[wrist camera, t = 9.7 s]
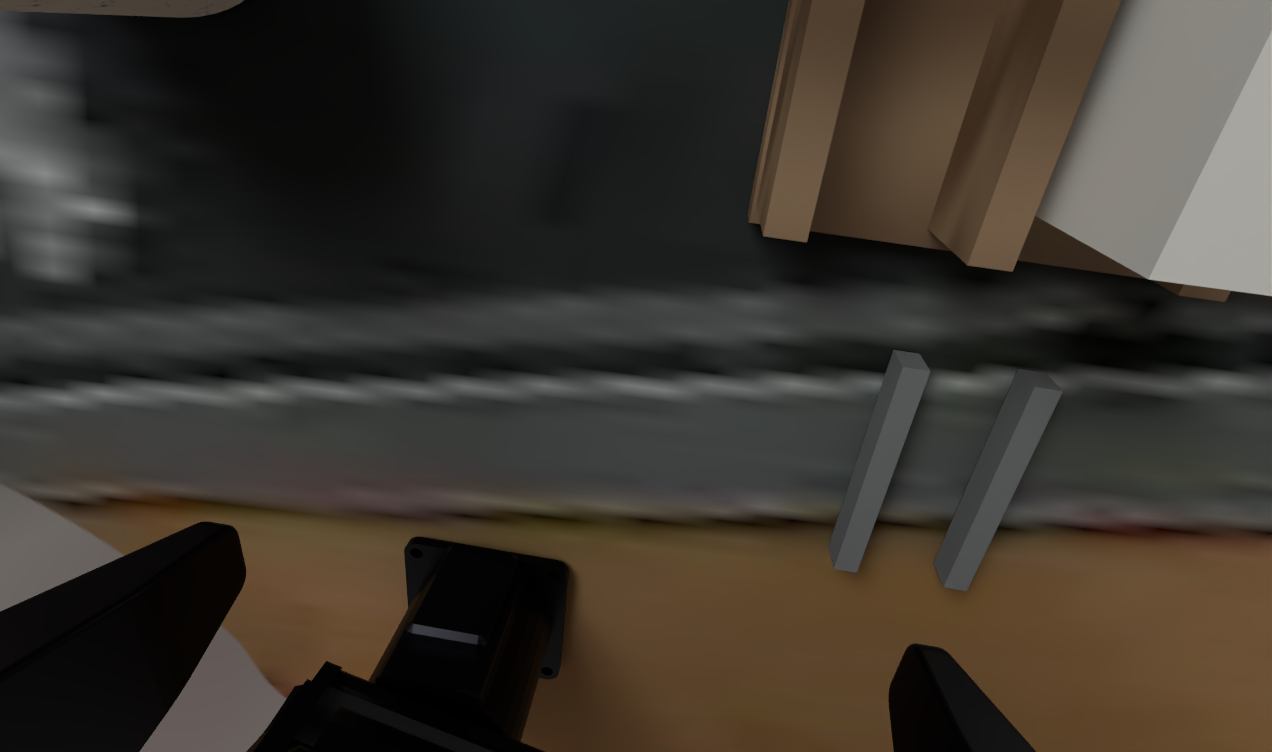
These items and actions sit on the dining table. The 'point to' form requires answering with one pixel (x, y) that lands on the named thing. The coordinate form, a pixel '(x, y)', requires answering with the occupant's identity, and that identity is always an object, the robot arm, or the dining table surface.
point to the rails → (986, 487)
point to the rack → (931, 126)
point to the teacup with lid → (123, 7)
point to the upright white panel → (1175, 146)
